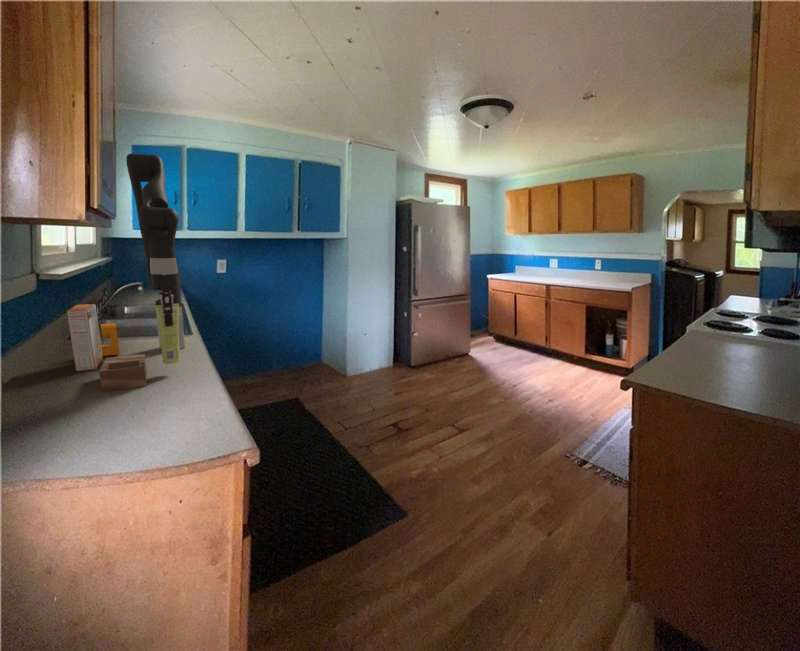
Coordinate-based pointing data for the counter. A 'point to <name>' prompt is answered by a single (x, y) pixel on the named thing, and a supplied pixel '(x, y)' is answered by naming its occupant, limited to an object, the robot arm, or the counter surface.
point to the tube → (169, 335)
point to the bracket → (111, 333)
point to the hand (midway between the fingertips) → (169, 324)
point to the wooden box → (123, 372)
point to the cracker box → (85, 336)
